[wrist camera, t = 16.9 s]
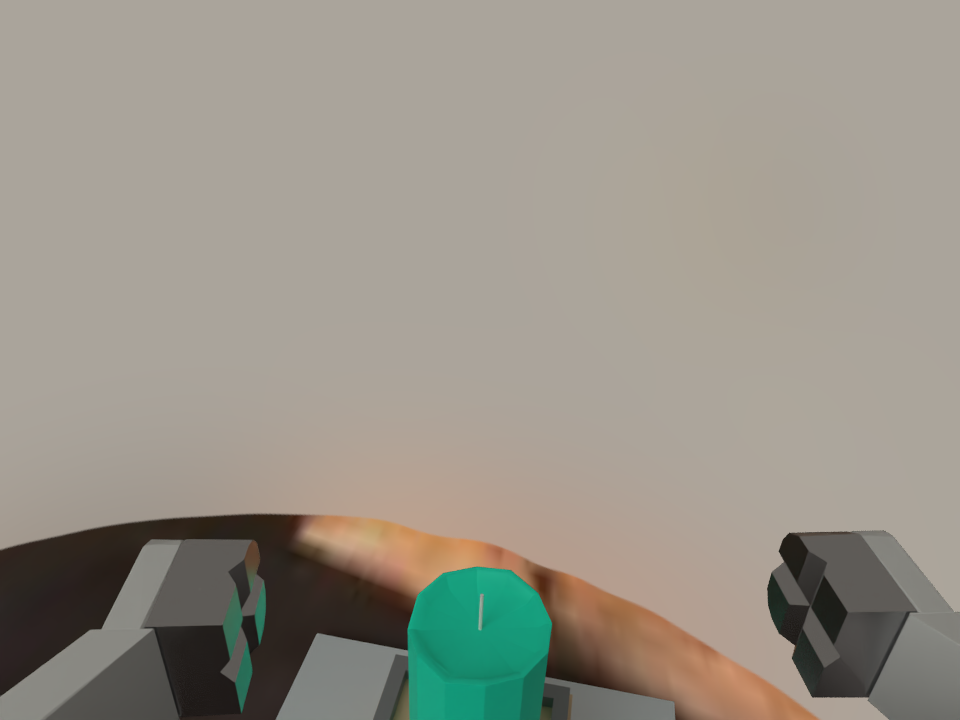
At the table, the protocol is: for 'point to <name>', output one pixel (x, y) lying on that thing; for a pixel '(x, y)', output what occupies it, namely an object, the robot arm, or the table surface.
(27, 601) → the table surface
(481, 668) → the candle
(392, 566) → the table surface
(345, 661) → the board
